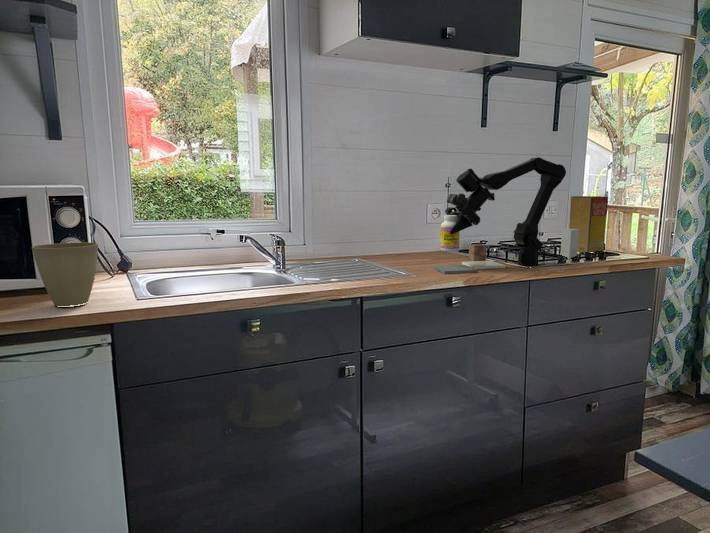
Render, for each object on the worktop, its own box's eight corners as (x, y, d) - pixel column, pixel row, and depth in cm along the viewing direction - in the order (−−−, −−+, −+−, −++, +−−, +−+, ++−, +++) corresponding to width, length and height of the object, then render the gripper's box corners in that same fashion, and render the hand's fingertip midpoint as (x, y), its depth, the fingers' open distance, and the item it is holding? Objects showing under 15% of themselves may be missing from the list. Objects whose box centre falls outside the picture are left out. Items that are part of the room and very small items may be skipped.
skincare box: (567, 257, 206) (569, 228, 204) (577, 258, 202) (579, 229, 200) (559, 258, 202) (561, 229, 200) (569, 259, 199) (571, 230, 197)
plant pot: (105, 307, 127) (99, 245, 124) (37, 314, 119) (29, 249, 117) (102, 296, 139) (96, 240, 137) (40, 302, 132) (33, 244, 130)
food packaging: (605, 253, 215) (609, 196, 211) (587, 254, 212) (591, 196, 208) (583, 250, 227) (586, 195, 223) (566, 251, 225) (569, 196, 221)
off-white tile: (490, 263, 192) (491, 260, 192) (505, 267, 180) (505, 265, 180) (461, 264, 190) (461, 261, 190) (474, 269, 178) (474, 266, 178)
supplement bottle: (441, 251, 176) (441, 216, 174) (440, 249, 183) (440, 215, 181) (460, 251, 176) (460, 215, 173) (458, 249, 182) (458, 214, 180)
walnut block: (480, 261, 198) (480, 243, 197) (485, 262, 193) (486, 245, 192) (468, 261, 197) (469, 244, 196) (473, 263, 193) (474, 245, 191)
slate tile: (464, 267, 183) (464, 264, 183) (477, 272, 171) (477, 269, 171) (433, 268, 181) (433, 265, 181) (444, 273, 169) (444, 271, 169)
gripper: (450, 185, 185) (422, 216, 185) (472, 185, 167) (442, 219, 167) (468, 206, 188) (441, 236, 188) (493, 208, 170) (463, 241, 170)
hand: (446, 232), depth 178 cm, fingers closed on supplement bottle, 7 cm apart
